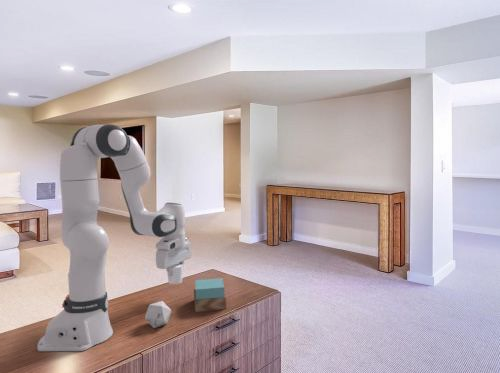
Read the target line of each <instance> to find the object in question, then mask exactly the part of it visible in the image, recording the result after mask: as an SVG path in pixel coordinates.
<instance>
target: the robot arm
mask: <svg viewBox="0 0 500 373" xmlns="http://www.w3.org/2000/svg"><path fill="white" fill-rule="evenodd" d="M106 158H110V159H111V160H112V161H113V162H114V166H115V168H116V170H117V172H118V175H119V178H120V181H121V183H120V187H121V191H122V194H123V198H124V201H125V204H126V206H127V207H126V208H127V209H128V212H129V213H128V214H129V219H130V220H129V221H130V222H129V223H130V229H131V231H132V232H133V233H134V234H135V235H138V236H148V237H155V238H161V239H159V241H158V242H157V243H155V249H156V252H155V266H156V267H157V269H161V270H166V273H167V272H168V274H167V277H168V276H170V277H171V276H172V270H171V268H172V265H175V264H182V265H183V266H184V264H185V261H186V260H188V259H191V257H192V247H191V242H190V239H189V238H188V237H186V231H185V225H186V214H185V212H186V211H185V208H184V205H182V204H181V203H178V202H165V203H164V205H163V207H161V208H160V209H159V210H157V211H155V212H154V211H149V210H148V209H147V208H146V207H145V205H144V202H143V199H142V195H141V188H142V187H144V186H145V185H146V184H148V182H149V180H150V178H151V176H152V174H151V168H150V165H149V162H148V160H147V157H146V155H145V153H144V151H143V149H142V147H141V146H140V144H139V143H138V141H137V139H136V138H135V137H134V136H132V135H128V134H127V132H126V131H125V130H124V129H123V128H122V127H121V126H119V125H116V124H110V123H109V124H107V123H106V124H93V125H90V126H84V127H81V128H79V129H77V131H75V133H74V134H73V136H72V138H71V142H70V145H69V146H67V147H65V148H64V149H63V150H62V151H61V153H60V160H59V161H60V162H59V180H60V182H59V183H60V191H61V192H60V194H61V195H60V196H61V202H62V203H61V204H62V206H61V207H62V210H61V241H62V243H63V245H64V247H66V249H68V250H69V255H70V256H69V270H68V274H67V278H68V280H67V283H68V294H67V295H66V296H65V297H64V298H65V299H64V300H63V303H62V305H61V308H63V310H62V311H60V312H59V313H58V314H57V315H56V316H54V317H53V318H52V319H51V320H50V321H49V323H47V326H46V329H45V334H44V335H43V336H42V337H41V338H39V340H38V343H37V347H36V348H37V351H38V352H82V351H86V350H88V349H90V348H92V347H93V346H96V345H98V344H101V343H103V342H105V341H107V340H108V339H110V338H111V337H112V336H113V334H114V330H113V327H112V324H111V321H110V317H109V312H108V311H109V310H108V309H109V297H108V292H107V290H106V274H105V273H106V262H107V252H108V249H109V247H110V238H109V235H108V234H107V232H106V230H105V229H104V228H103V227H102V226H100V225H98V212H99V211H98V210H99V206H100V190H99V179H98V178H99V177H98V170H97V169H98V168H97V166H98V162H99V159H106Z"/></svg>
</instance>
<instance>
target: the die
mask: <svg viewBox="0 0 500 373" xmlns="http://www.w3.org/2000/svg"><path fill="white" fill-rule="evenodd" d="M171 313H172V309H171V308H170V307H169V306H168V305H167V304H166V303H165V302H164V301H163V300H161V301H157V302H154V303H151V304H149V305H148V306H147V310H146V313H145V316H144V319H145V320H146V321H147V323H148V324H149V325H150V326H151V327H152V328H153V329H156V328H159V327H161V326H165V325H167V324H168V323H169V320H170V316H171Z"/></svg>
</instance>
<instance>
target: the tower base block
mask: <svg viewBox="0 0 500 373" xmlns="http://www.w3.org/2000/svg"><path fill="white" fill-rule="evenodd" d="M224 295H225V297H222V298H210V299H198V300H196V288H195V289H194V288H193V300H194V302H193V303H194V304H193V305H194V312H195V313H196V312H197V313H198V312H206V311H207V312H208V311H218V310H219V311H220V310H226V309H227V299H226V294H225V292H224Z"/></svg>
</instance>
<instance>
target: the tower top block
mask: <svg viewBox="0 0 500 373" xmlns="http://www.w3.org/2000/svg"><path fill="white" fill-rule="evenodd" d="M195 289H196V300H198V299H210V298H222V297H226V294H225V295H224V293H225V285H224V280H223V278H222V277H221V278H212V279H211V278H209V279H207V278H206V279H195Z"/></svg>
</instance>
